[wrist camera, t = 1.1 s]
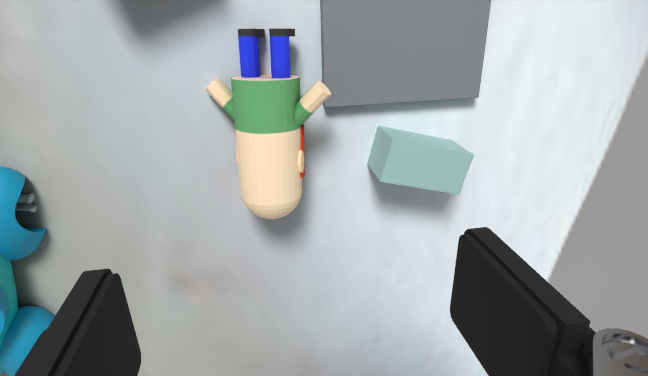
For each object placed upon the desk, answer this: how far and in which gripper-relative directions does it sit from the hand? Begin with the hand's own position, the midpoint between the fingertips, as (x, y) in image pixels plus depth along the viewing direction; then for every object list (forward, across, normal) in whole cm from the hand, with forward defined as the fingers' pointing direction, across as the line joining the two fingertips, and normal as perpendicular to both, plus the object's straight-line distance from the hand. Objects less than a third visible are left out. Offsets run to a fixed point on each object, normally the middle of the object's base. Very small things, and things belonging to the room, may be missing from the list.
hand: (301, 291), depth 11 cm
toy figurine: (+19, 0, 0) cm, 19 cm away
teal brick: (+19, -10, +3) cm, 21 cm away
